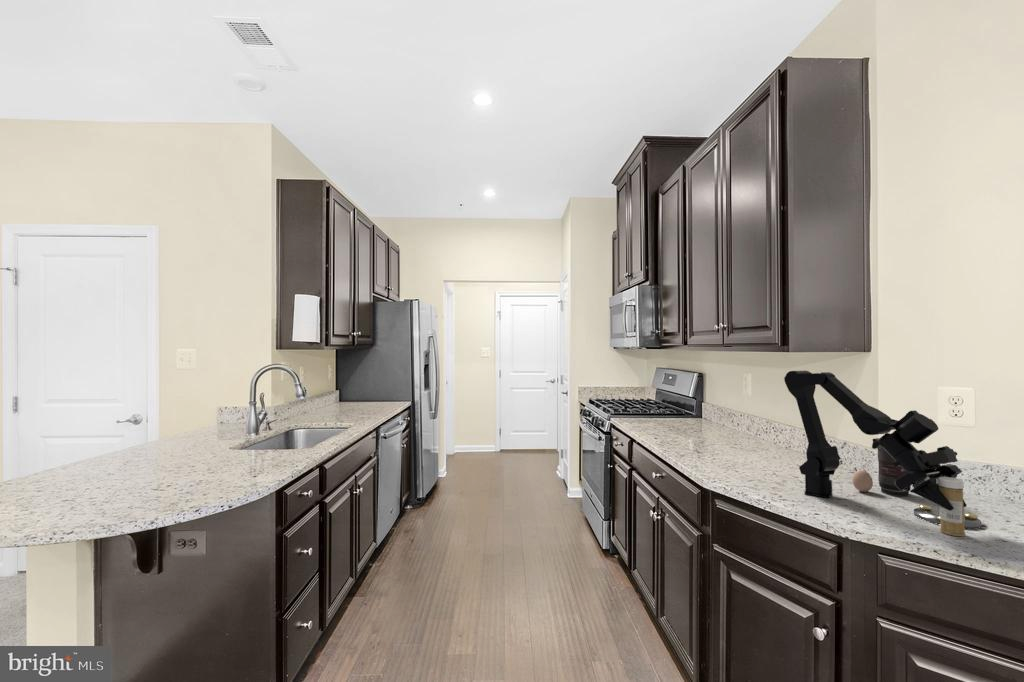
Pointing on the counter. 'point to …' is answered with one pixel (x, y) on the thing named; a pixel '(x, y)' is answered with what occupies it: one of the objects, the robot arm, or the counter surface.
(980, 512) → the counter surface
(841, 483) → the counter surface
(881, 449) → the camera lens
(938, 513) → the tribrach plate
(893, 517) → the counter surface
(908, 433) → the robot arm
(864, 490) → the egg
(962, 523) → the sprinkles bottle
